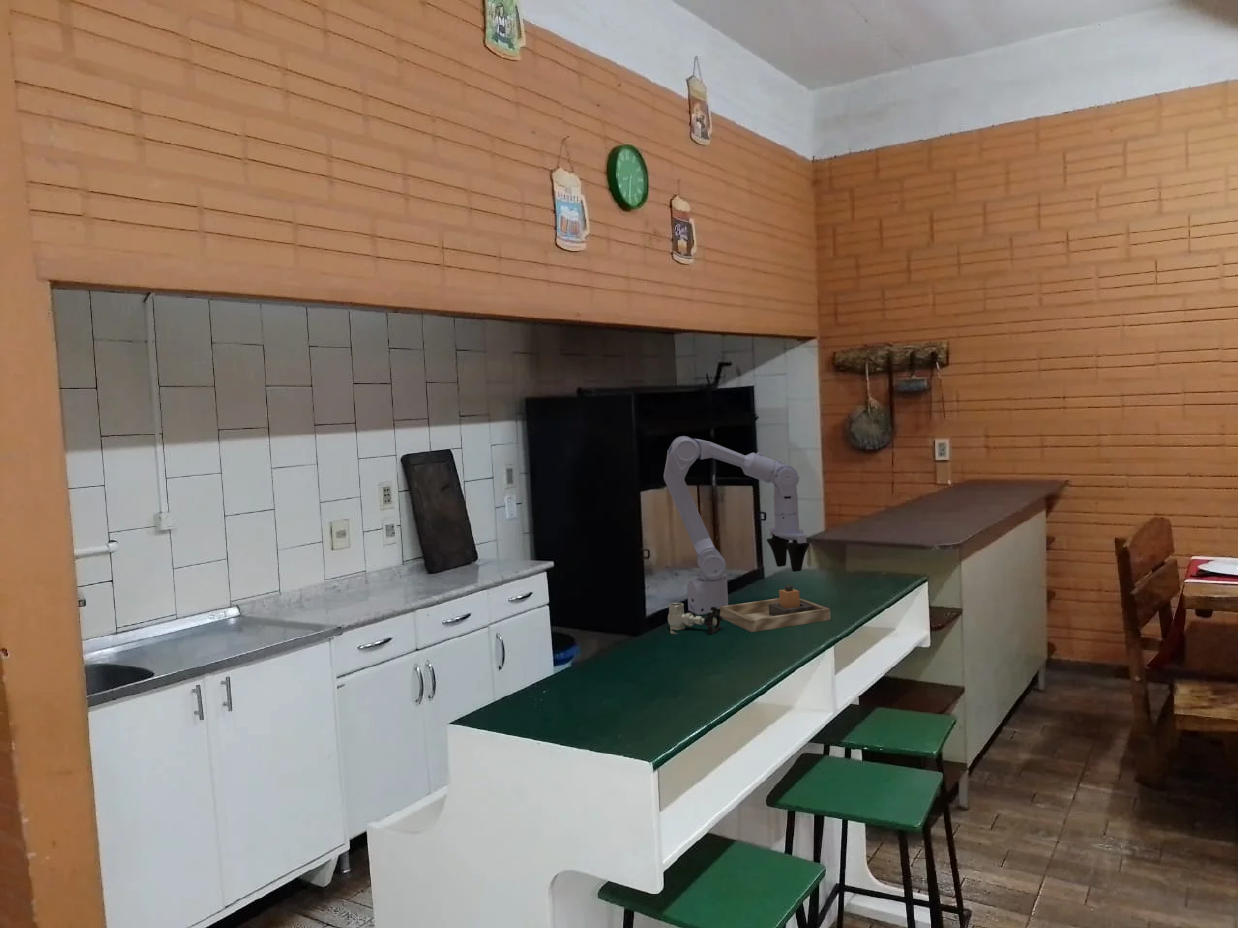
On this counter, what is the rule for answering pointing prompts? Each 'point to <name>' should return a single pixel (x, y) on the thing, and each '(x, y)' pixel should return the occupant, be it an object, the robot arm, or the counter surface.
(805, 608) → the walled box
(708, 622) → the valve
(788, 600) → the connector
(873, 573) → the counter surface
